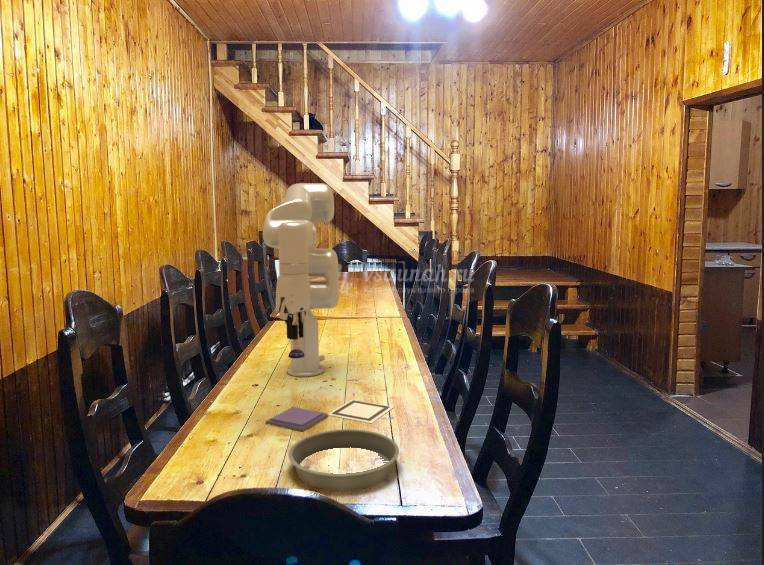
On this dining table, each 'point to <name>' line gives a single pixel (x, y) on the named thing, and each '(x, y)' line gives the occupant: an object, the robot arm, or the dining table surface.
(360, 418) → the marked card
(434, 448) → the dining table surface
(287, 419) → the ink pad
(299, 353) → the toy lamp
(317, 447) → the cake pan
